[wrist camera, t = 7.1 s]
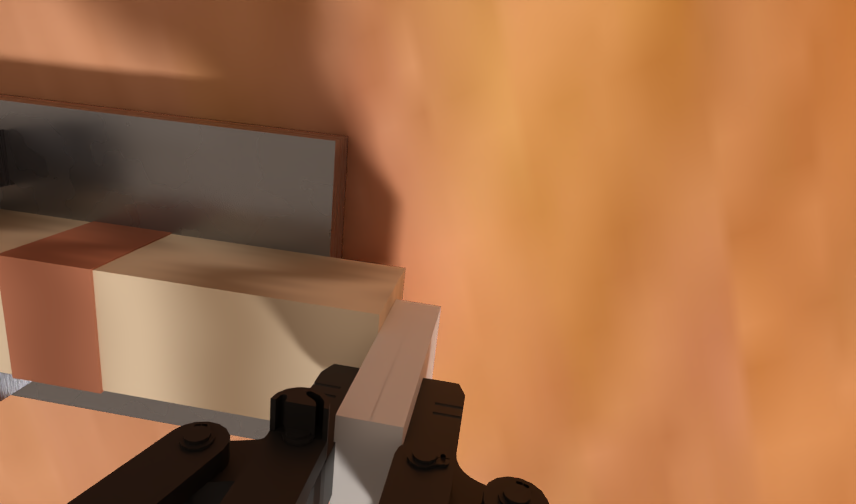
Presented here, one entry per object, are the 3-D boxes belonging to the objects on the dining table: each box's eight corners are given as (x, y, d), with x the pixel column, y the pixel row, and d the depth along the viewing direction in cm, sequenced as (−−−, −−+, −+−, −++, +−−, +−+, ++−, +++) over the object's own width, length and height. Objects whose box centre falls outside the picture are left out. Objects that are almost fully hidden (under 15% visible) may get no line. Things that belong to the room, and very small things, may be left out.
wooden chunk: (405, 266, 19) (378, 314, 15) (395, 372, 20) (368, 441, 17) (-115, 190, 21) (-255, 215, 17) (-95, 291, 22) (-222, 335, 19)
